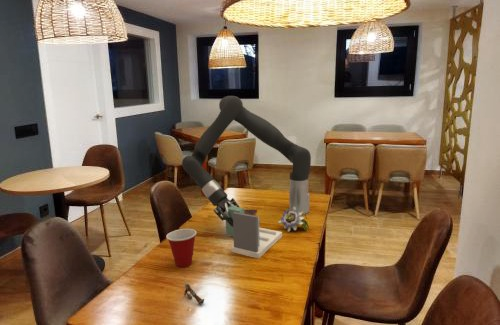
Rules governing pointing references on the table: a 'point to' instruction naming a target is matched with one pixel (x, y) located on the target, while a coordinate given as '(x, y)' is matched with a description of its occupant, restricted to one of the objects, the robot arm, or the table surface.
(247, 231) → the book rack
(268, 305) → the table surface
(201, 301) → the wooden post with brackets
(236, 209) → the green book
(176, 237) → the plastic cup
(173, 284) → the table surface
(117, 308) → the table surface
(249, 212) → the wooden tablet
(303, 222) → the passion flower
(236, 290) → the table surface
